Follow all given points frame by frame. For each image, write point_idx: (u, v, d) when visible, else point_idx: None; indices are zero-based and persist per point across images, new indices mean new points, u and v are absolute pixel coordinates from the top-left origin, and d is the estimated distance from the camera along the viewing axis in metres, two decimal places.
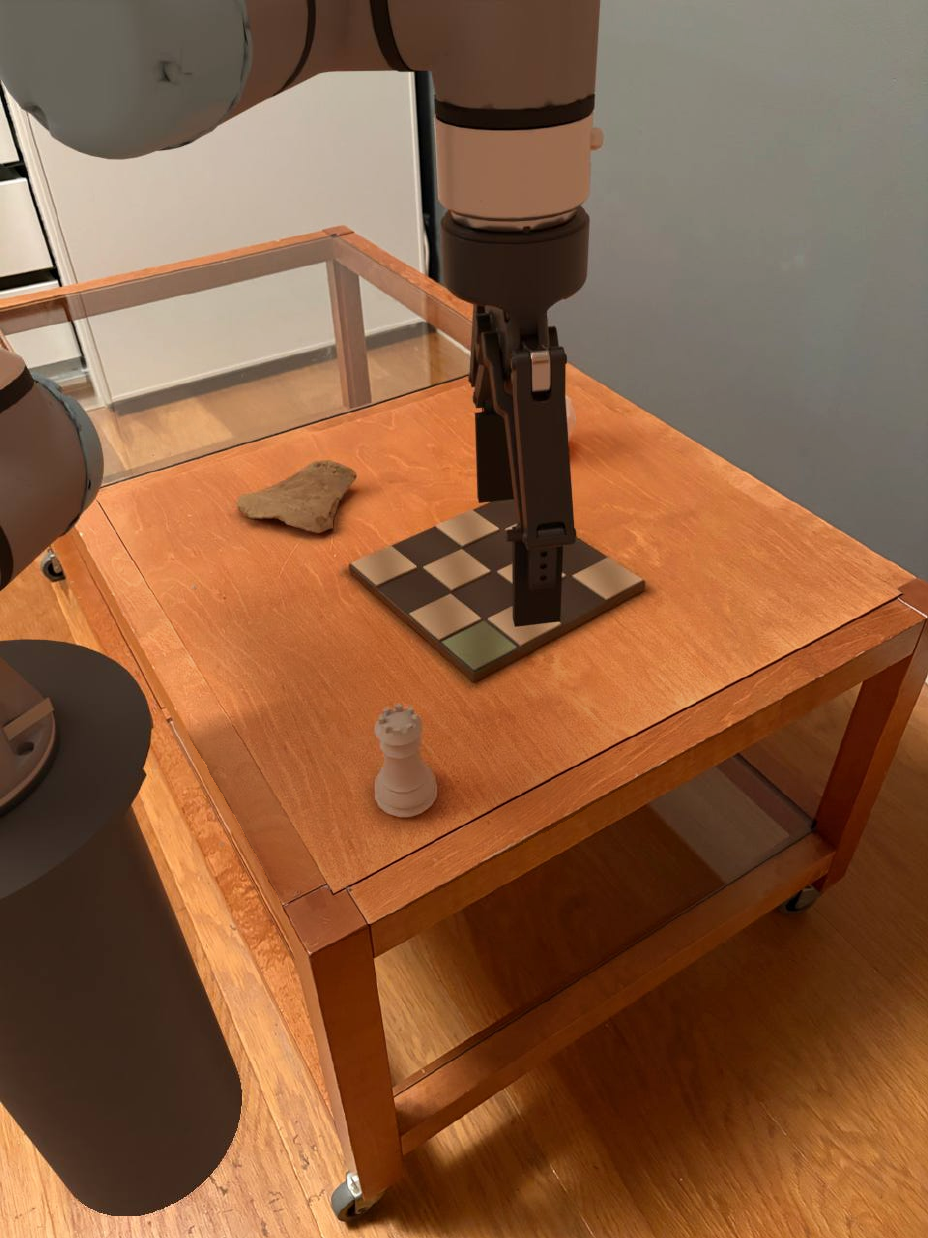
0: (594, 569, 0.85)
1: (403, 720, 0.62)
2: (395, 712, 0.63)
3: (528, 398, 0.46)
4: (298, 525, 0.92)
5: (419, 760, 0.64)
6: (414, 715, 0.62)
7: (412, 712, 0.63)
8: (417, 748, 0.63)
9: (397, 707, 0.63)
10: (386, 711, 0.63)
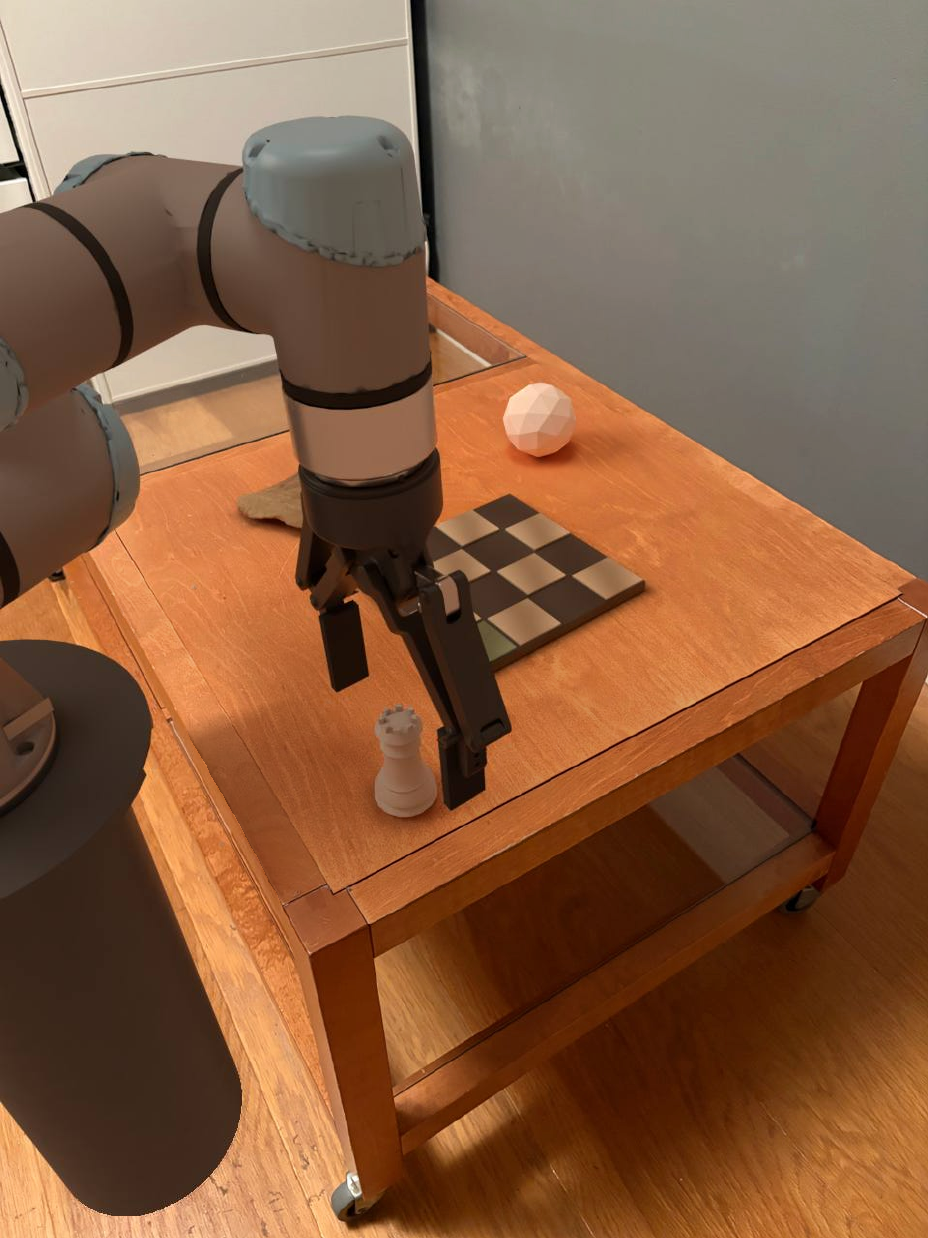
0: (594, 569, 0.85)
1: (403, 720, 0.62)
2: (395, 712, 0.63)
3: (444, 623, 0.49)
4: (298, 525, 0.92)
5: (419, 760, 0.64)
6: (414, 715, 0.62)
7: (412, 712, 0.63)
8: (417, 748, 0.63)
9: (397, 707, 0.63)
10: (386, 711, 0.63)
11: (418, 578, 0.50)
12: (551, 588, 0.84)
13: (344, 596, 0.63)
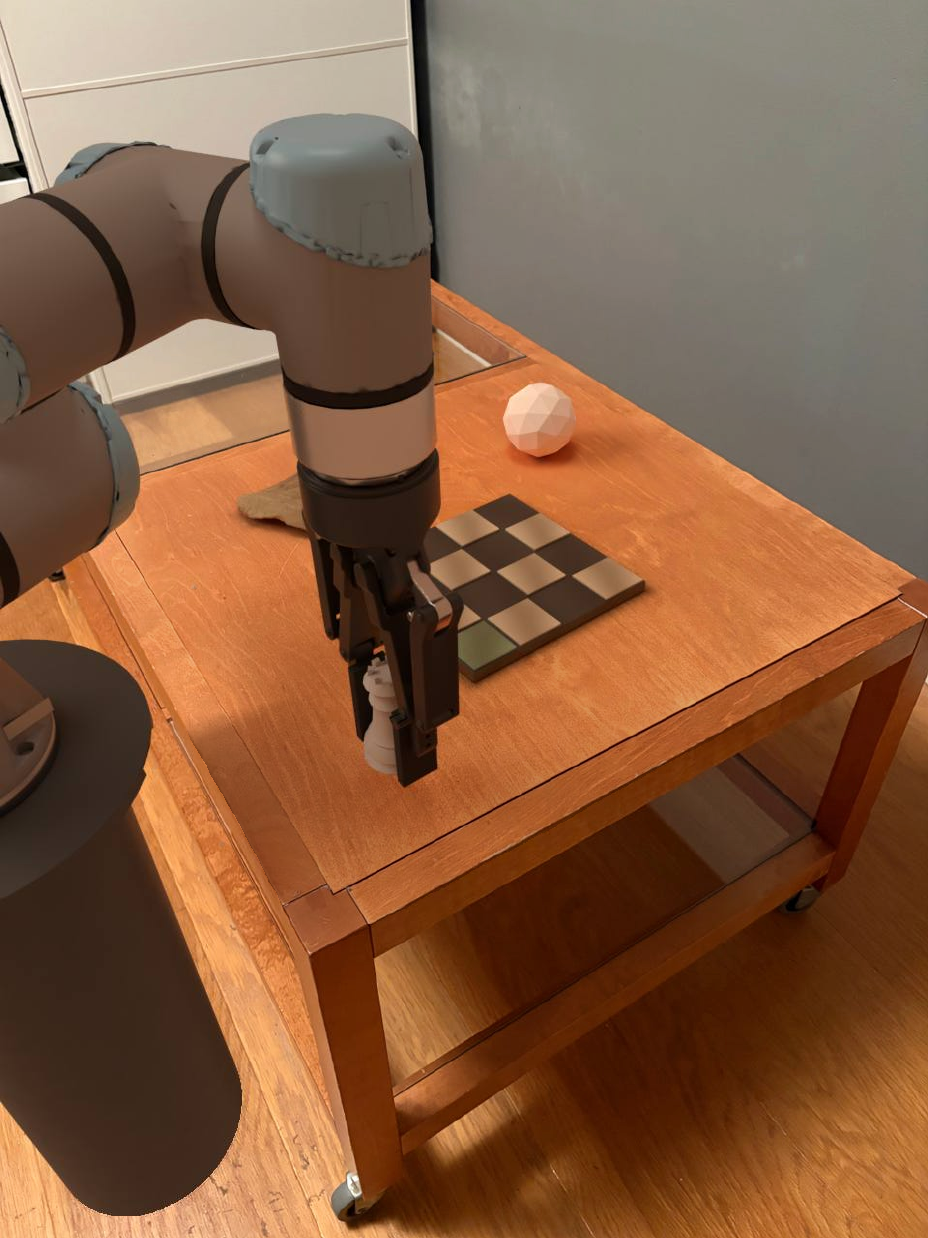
0: (594, 569, 0.85)
1: None
2: (385, 664, 0.60)
3: (431, 638, 0.51)
4: (298, 525, 0.92)
5: None
6: None
7: None
8: None
9: None
10: (375, 663, 0.60)
11: (415, 588, 0.51)
12: (551, 588, 0.84)
13: (373, 644, 0.62)
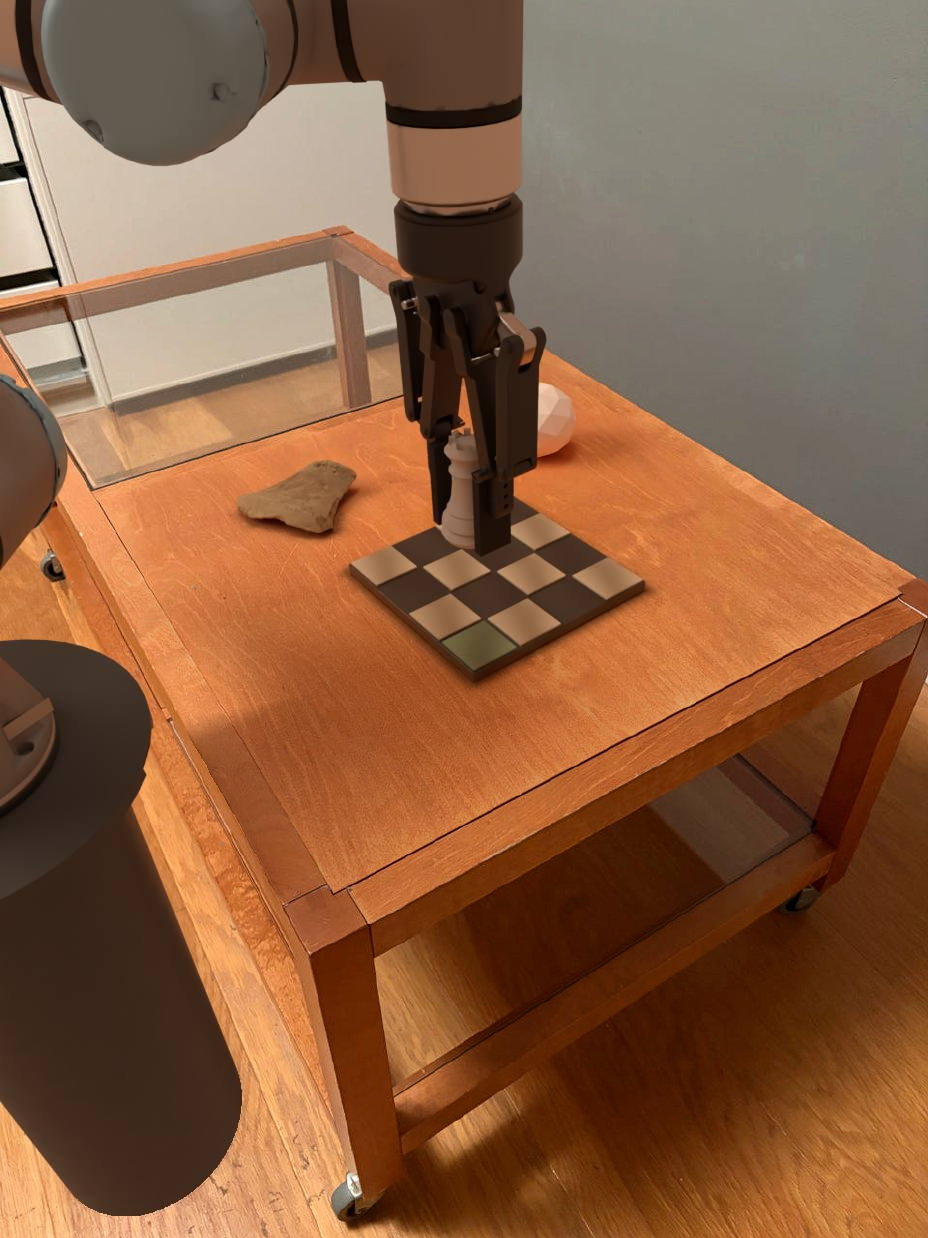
0: (594, 569, 0.85)
1: (472, 440, 0.65)
2: (464, 435, 0.65)
3: (515, 372, 0.56)
4: (298, 525, 0.92)
5: None
6: None
7: None
8: None
9: (466, 430, 0.65)
10: (455, 433, 0.65)
11: (501, 324, 0.55)
12: (551, 588, 0.84)
13: (451, 423, 0.67)
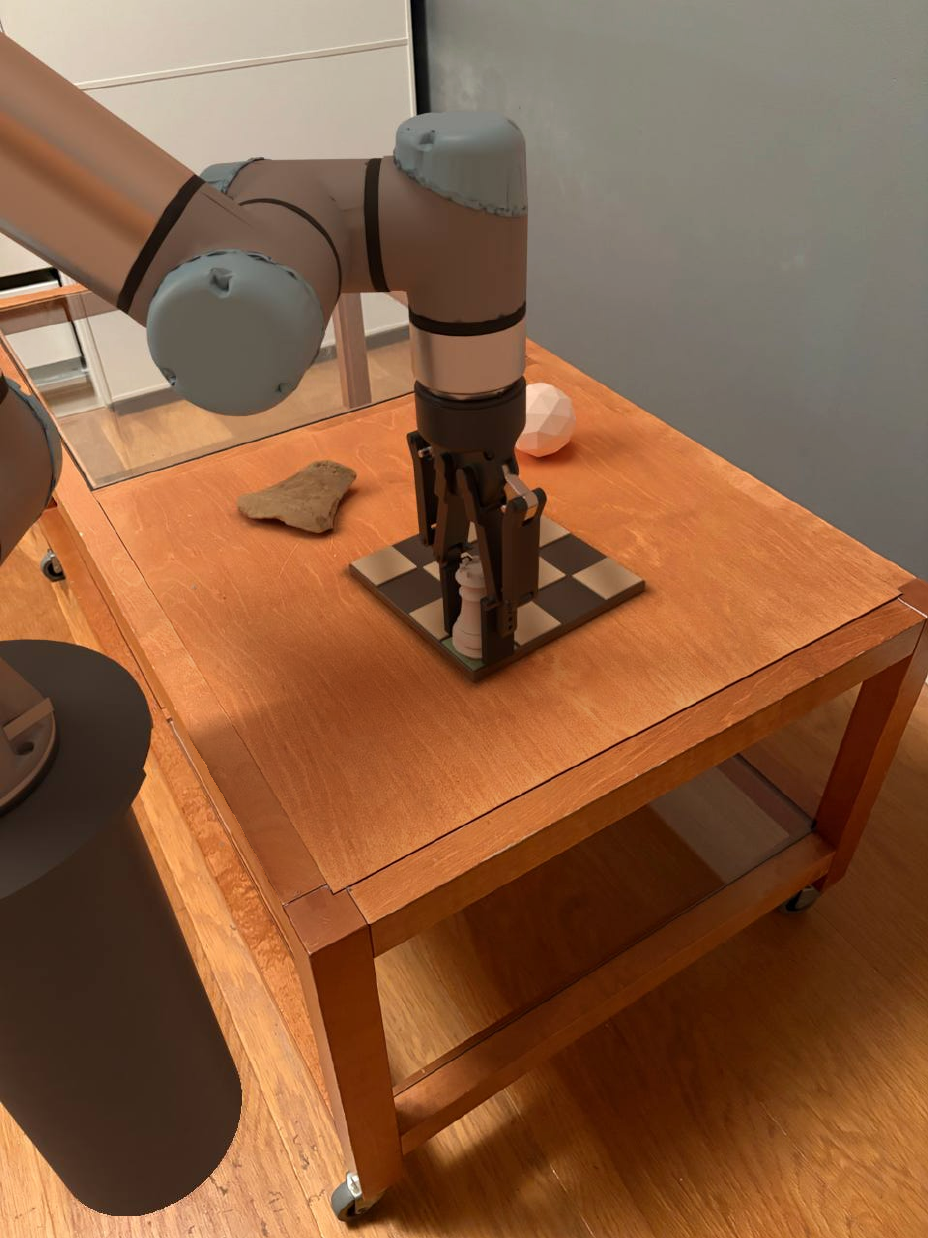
0: (594, 569, 0.85)
1: (480, 568, 0.73)
2: (473, 562, 0.74)
3: (520, 526, 0.64)
4: (298, 525, 0.92)
5: None
6: None
7: None
8: None
9: (475, 558, 0.73)
10: (465, 561, 0.73)
11: (508, 485, 0.64)
12: (551, 588, 0.84)
13: (461, 548, 0.75)
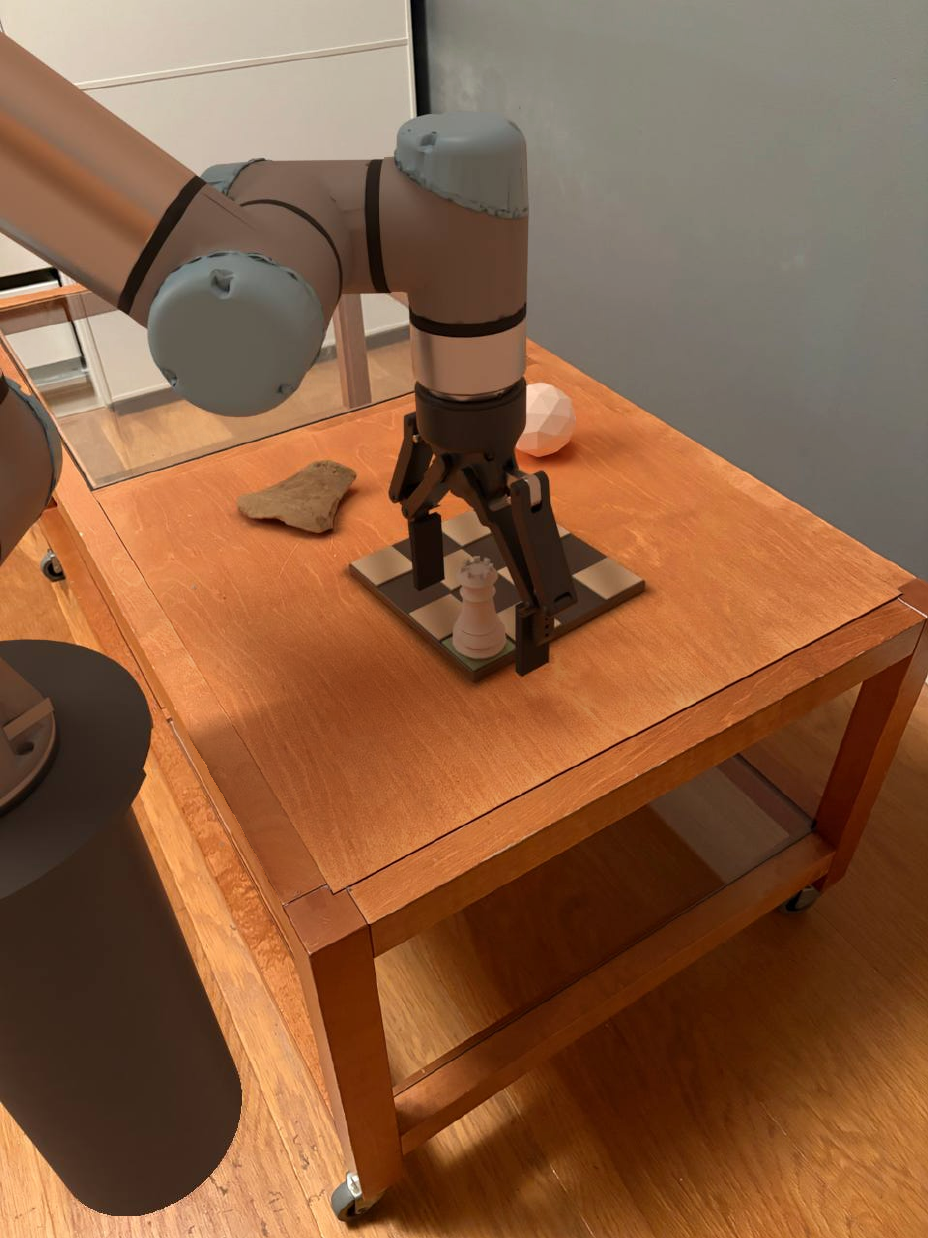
0: (594, 569, 0.85)
1: (481, 568, 0.73)
2: (474, 563, 0.74)
3: (529, 512, 0.63)
4: (298, 525, 0.92)
5: (493, 607, 0.75)
6: (491, 564, 0.73)
7: (488, 562, 0.73)
8: (492, 594, 0.74)
9: (475, 559, 0.73)
10: (466, 562, 0.73)
11: (508, 477, 0.63)
12: None
13: (429, 508, 0.77)
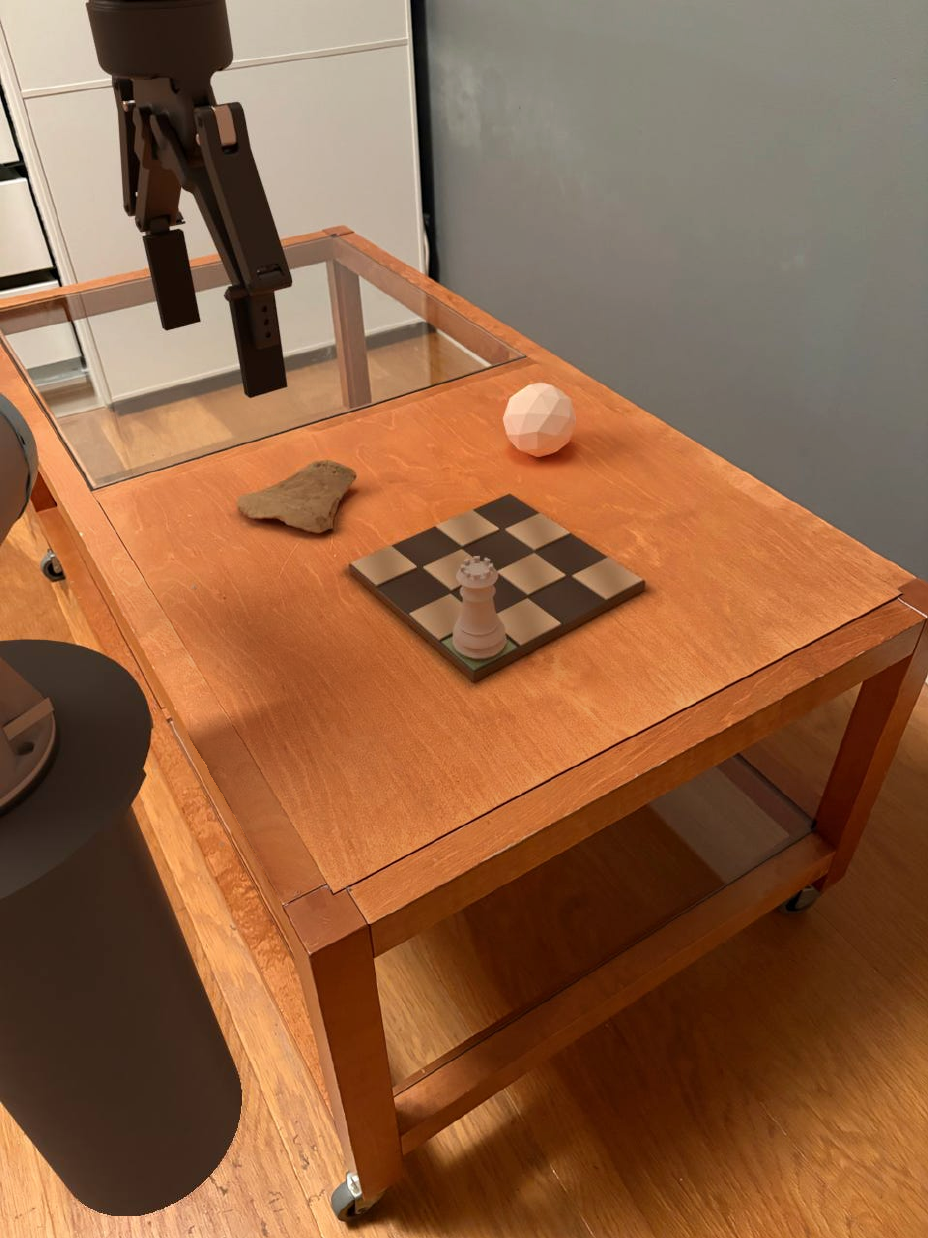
0: (594, 569, 0.85)
1: (481, 568, 0.73)
2: (474, 563, 0.74)
3: (220, 151, 0.52)
4: (298, 525, 0.92)
5: (493, 607, 0.75)
6: (491, 564, 0.73)
7: (488, 562, 0.73)
8: (492, 594, 0.74)
9: (475, 559, 0.73)
10: (466, 562, 0.73)
11: None
12: (551, 588, 0.84)
13: (169, 221, 0.66)
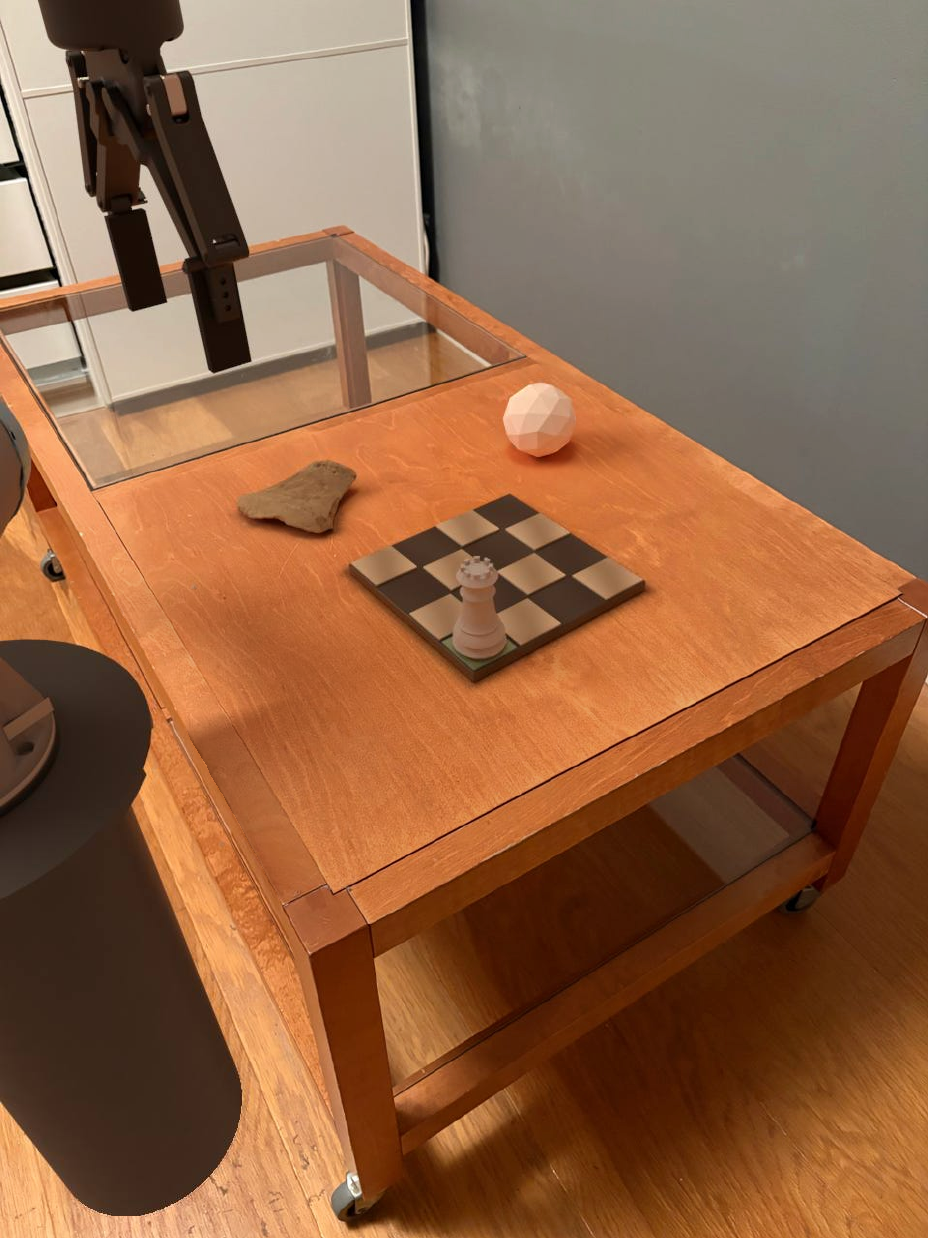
0: (594, 569, 0.85)
1: (481, 568, 0.73)
2: (474, 563, 0.74)
3: (170, 120, 0.51)
4: (298, 525, 0.92)
5: (493, 607, 0.75)
6: (491, 564, 0.73)
7: (488, 562, 0.73)
8: (492, 594, 0.74)
9: (475, 559, 0.73)
10: (466, 562, 0.73)
11: None
12: (551, 588, 0.84)
13: (131, 200, 0.65)
